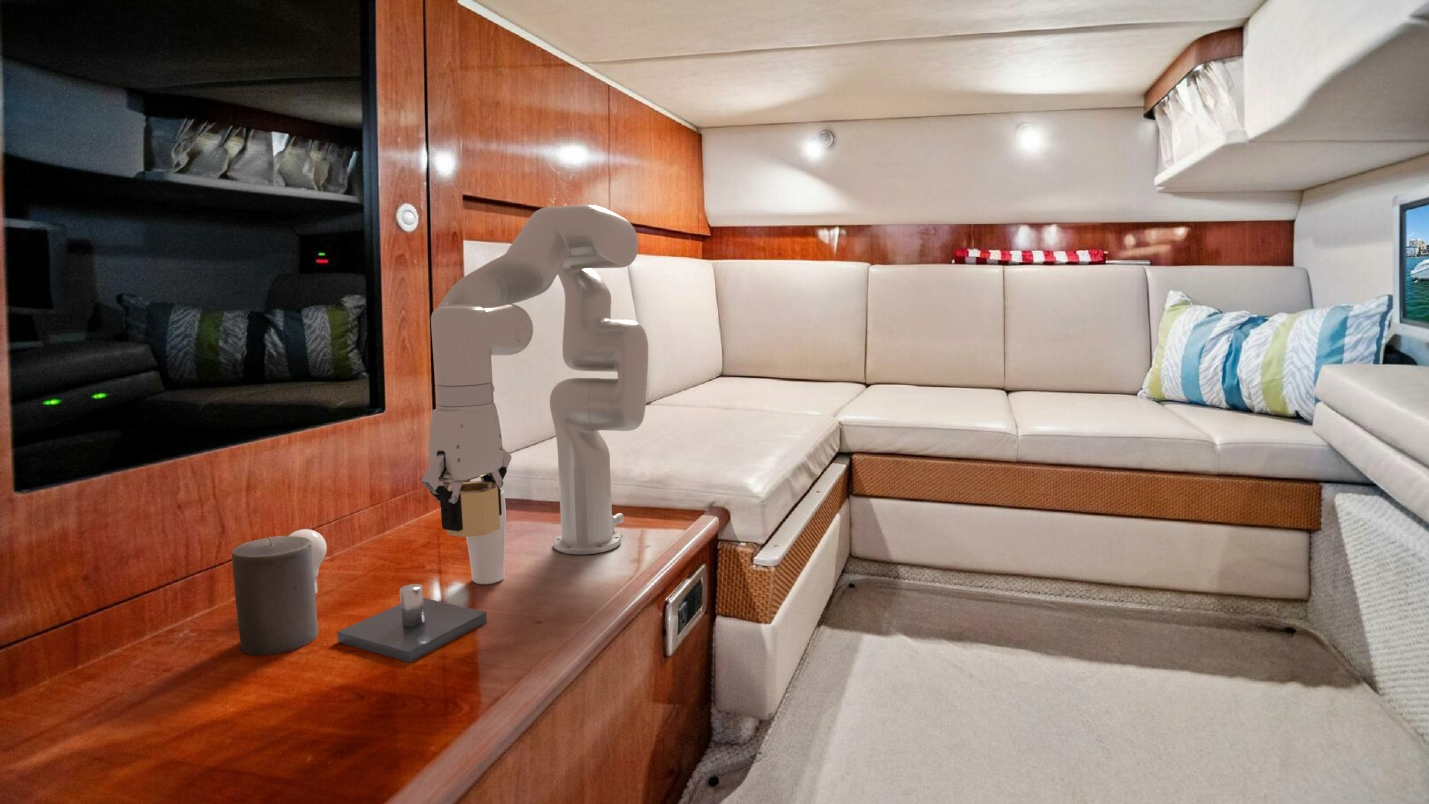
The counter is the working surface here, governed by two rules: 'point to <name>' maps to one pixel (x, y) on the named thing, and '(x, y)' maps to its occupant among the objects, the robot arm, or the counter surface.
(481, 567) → the drinking glass
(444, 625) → the shaft block
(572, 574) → the counter surface
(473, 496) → the hub ring
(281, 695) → the counter surface
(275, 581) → the pillar candle
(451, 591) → the counter surface
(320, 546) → the lightbulb
